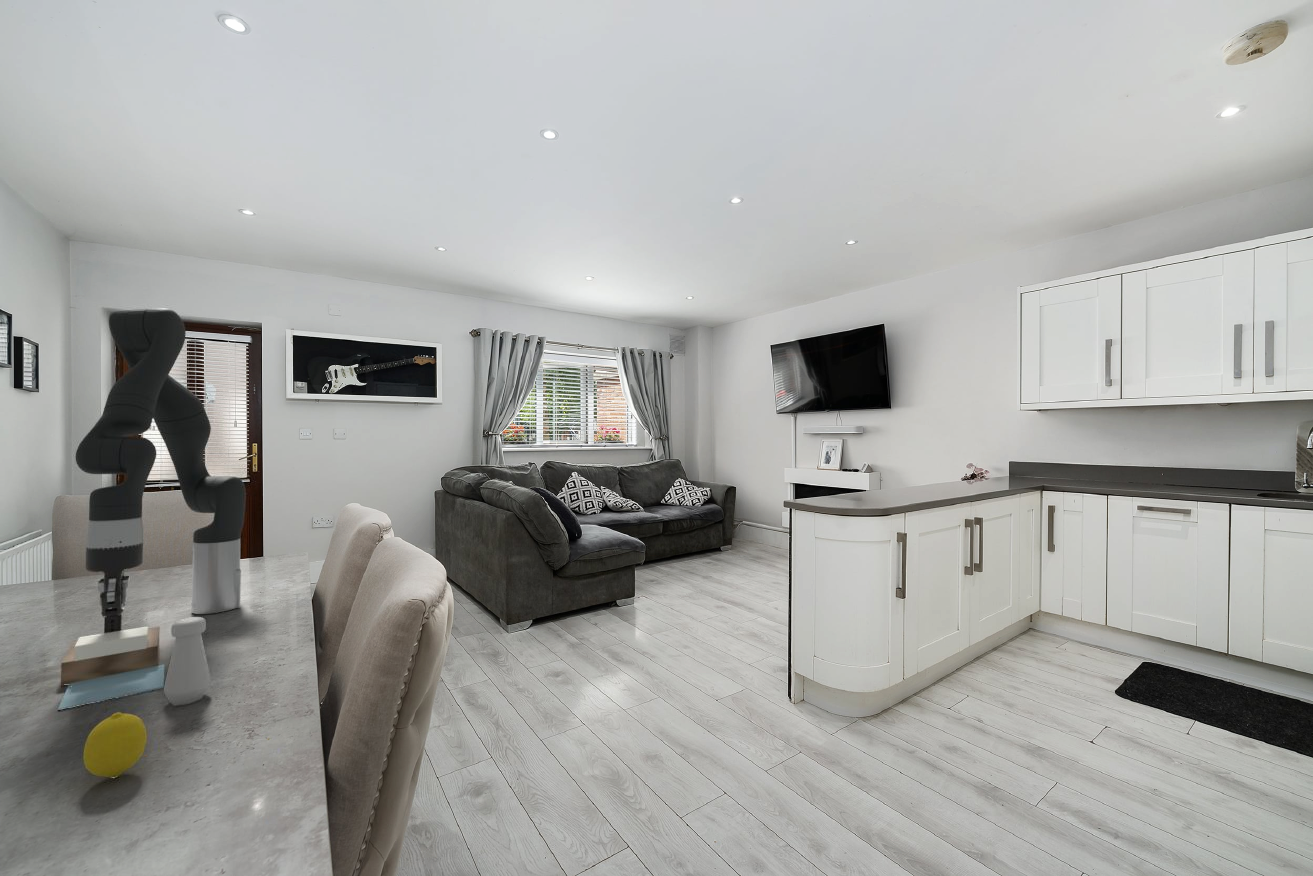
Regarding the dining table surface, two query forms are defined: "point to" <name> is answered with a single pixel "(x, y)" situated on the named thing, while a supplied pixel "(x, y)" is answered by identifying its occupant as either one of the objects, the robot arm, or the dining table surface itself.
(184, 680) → the salt shaker
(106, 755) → the lemon
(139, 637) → the white bevelled block
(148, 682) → the mat
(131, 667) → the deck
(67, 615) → the dining table surface
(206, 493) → the robot arm
